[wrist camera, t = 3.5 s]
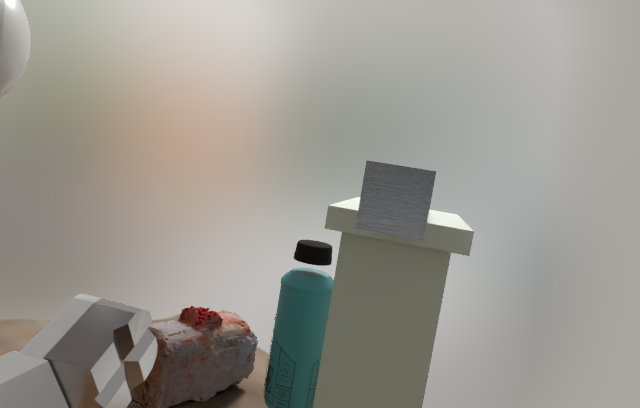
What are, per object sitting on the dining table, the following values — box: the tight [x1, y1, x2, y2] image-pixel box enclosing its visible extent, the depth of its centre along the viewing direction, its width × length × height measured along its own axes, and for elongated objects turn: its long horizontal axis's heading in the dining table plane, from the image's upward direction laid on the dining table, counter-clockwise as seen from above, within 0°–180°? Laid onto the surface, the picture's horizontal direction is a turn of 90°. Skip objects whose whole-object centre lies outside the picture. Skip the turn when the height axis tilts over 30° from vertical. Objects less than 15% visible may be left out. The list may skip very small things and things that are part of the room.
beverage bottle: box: [263, 240, 334, 408], centre depth 54 cm, size 6×7×20 cm
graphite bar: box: [355, 161, 436, 241], centre depth 32 cm, size 22×3×3 cm, turn 168°
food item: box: [131, 306, 258, 408], centre depth 57 cm, size 14×8×10 cm, turn 143°
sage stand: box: [313, 197, 474, 408], centre depth 38 cm, size 14×9×26 cm, turn 168°
